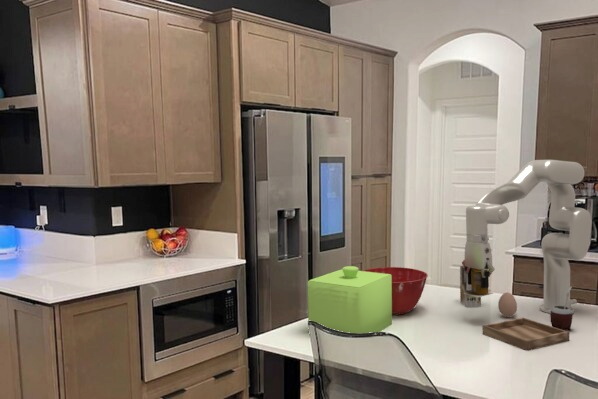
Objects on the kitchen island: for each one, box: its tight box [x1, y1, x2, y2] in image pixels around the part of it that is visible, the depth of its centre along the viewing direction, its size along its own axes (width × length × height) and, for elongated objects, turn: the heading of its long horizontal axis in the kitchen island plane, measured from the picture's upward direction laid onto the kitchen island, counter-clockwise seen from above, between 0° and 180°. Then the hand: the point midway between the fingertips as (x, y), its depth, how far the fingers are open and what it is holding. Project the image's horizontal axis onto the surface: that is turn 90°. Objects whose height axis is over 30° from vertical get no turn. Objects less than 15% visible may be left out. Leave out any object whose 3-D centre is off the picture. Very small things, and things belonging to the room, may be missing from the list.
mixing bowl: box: [362, 266, 429, 316], centre depth 214 cm, size 28×28×16 cm
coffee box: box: [459, 265, 482, 308], centre depth 221 cm, size 9×6×16 cm
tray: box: [482, 317, 570, 351], centre depth 178 cm, size 20×19×3 cm
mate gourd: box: [549, 285, 573, 332], centre depth 185 cm, size 8×8×15 cm
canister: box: [307, 265, 393, 333], centre depth 191 cm, size 25×21×23 cm
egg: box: [497, 292, 518, 318], centre depth 201 cm, size 7×7×10 cm
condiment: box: [464, 268, 494, 298], centre depth 194 cm, size 7×8×12 cm
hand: (478, 285), depth 194 cm, fingers closed on condiment, 6 cm apart
